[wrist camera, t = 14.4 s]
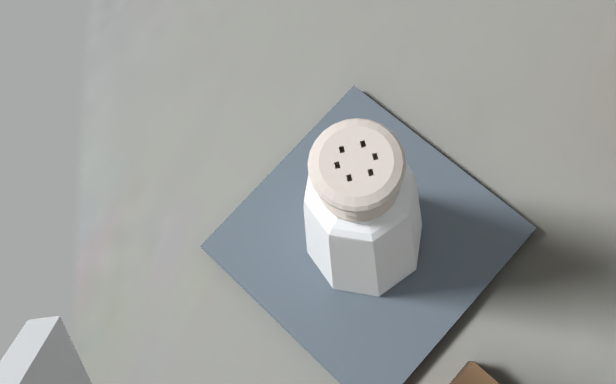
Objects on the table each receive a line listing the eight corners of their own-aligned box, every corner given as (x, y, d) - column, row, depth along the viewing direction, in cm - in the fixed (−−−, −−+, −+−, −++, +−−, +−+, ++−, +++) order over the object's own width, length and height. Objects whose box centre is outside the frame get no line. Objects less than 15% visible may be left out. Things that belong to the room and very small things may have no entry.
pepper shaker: (406, 171, 27) (424, 53, 17) (438, 283, 26) (480, 230, 15) (295, 198, 28) (245, 99, 17) (320, 310, 26) (281, 277, 16)
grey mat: (354, 90, 30) (354, 85, 29) (533, 230, 27) (536, 227, 26) (203, 248, 28) (200, 246, 28) (374, 415, 25) (374, 416, 24)
